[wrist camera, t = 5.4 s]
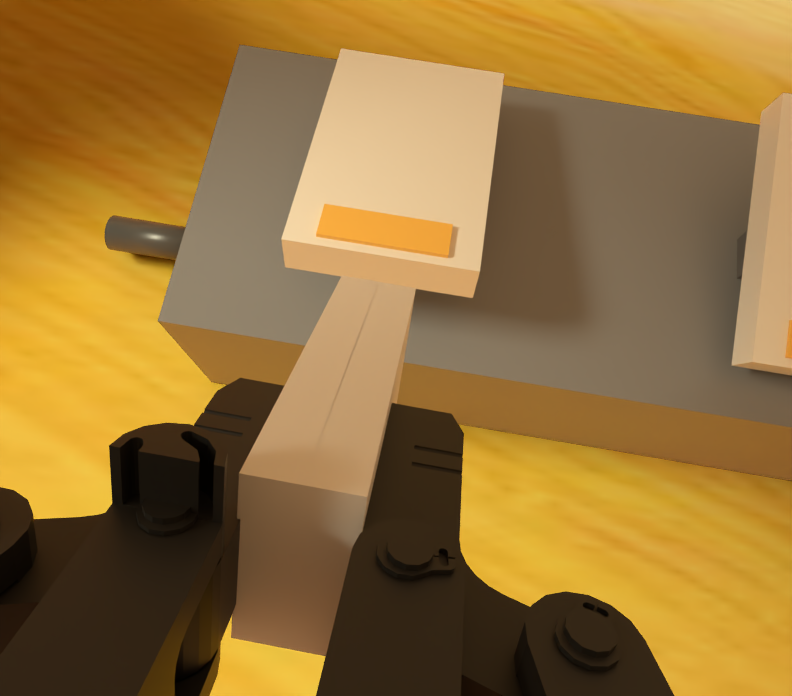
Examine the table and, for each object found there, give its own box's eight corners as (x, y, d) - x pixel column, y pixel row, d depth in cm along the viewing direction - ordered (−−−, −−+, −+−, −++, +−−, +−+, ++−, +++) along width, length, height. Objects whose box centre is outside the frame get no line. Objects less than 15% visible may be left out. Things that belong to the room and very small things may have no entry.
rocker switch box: (84, 359, 32) (-29, 278, 23) (155, 140, 35) (82, -2, 27) (872, 494, 31) (1069, 462, 22) (861, 252, 34) (1025, 143, 26)
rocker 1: (285, 267, 22) (280, 235, 20) (341, 80, 26) (341, 44, 25) (472, 298, 22) (480, 268, 20) (497, 104, 26) (505, 70, 25)
